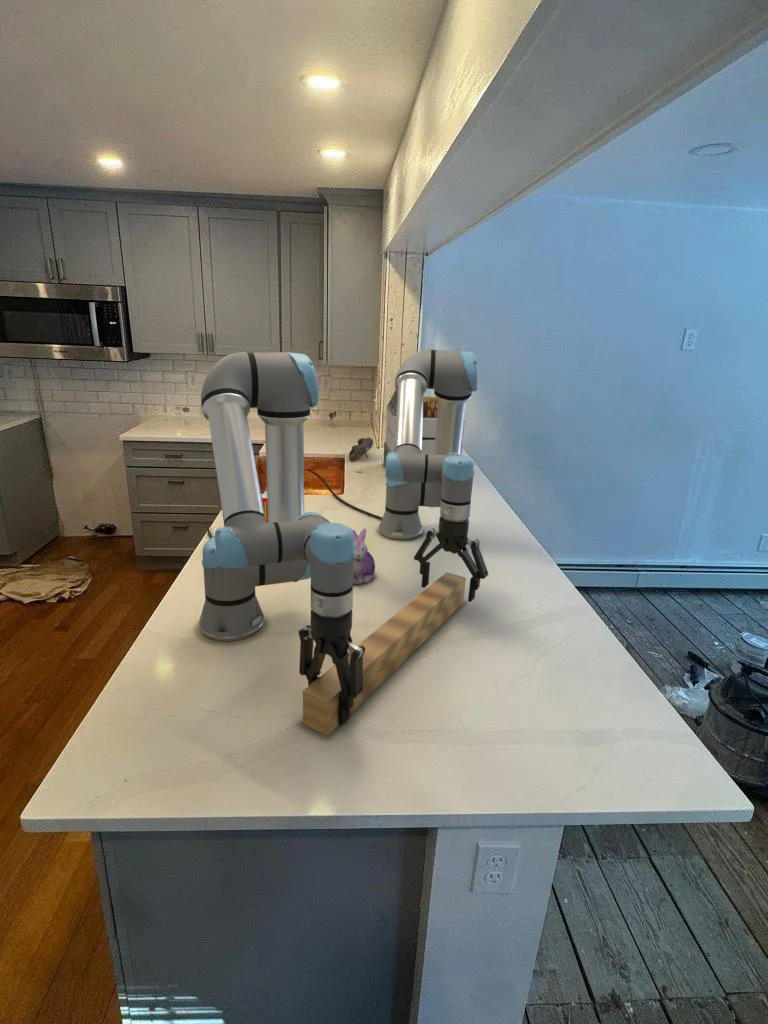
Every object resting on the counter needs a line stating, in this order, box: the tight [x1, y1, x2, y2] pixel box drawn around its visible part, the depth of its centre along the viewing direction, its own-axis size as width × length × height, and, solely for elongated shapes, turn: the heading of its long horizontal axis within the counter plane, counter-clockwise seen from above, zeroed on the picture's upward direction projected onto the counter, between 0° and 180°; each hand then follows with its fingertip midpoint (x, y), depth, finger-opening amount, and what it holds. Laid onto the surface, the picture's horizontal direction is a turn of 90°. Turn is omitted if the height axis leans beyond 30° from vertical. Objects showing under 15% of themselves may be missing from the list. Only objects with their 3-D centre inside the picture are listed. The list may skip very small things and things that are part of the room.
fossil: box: [348, 436, 374, 462], centre depth 297 cm, size 22×10×15 cm
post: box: [302, 571, 467, 737], centre depth 130 cm, size 62×6×8 cm, turn 149°
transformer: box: [383, 389, 465, 467], centre depth 268 cm, size 34×33×41 cm
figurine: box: [352, 527, 376, 585], centre depth 163 cm, size 9×10×15 cm
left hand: (330, 714), depth 110 cm, fingers closed on post, 6 cm apart
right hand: (447, 592), depth 150 cm, fingers open, 13 cm apart
